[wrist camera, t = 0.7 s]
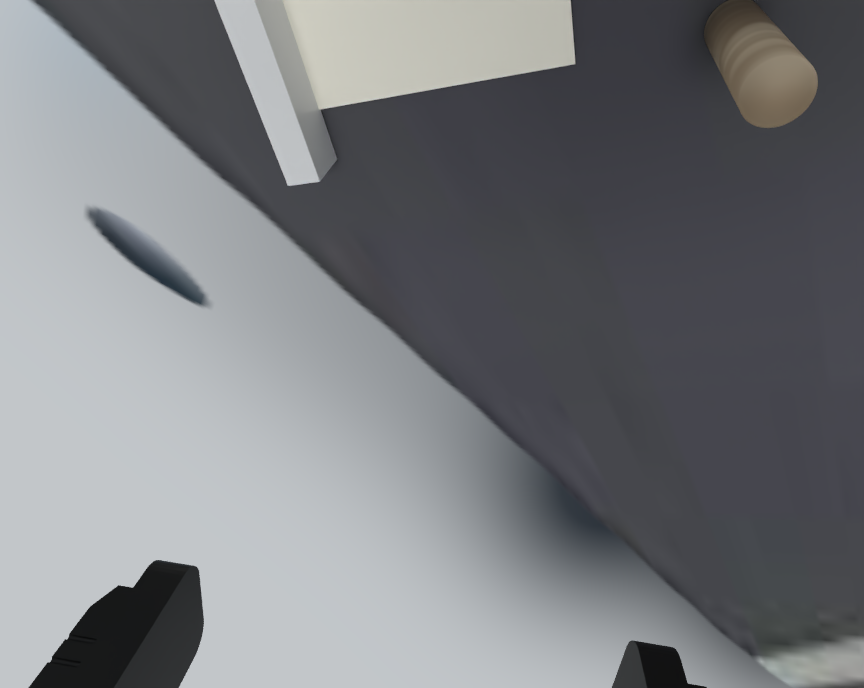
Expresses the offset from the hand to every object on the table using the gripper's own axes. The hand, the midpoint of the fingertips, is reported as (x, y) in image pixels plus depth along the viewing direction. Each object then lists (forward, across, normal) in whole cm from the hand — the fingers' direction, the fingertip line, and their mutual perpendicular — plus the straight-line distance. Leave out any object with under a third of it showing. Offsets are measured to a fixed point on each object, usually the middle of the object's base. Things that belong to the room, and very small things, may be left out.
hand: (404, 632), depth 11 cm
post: (+24, -10, -12) cm, 29 cm away
